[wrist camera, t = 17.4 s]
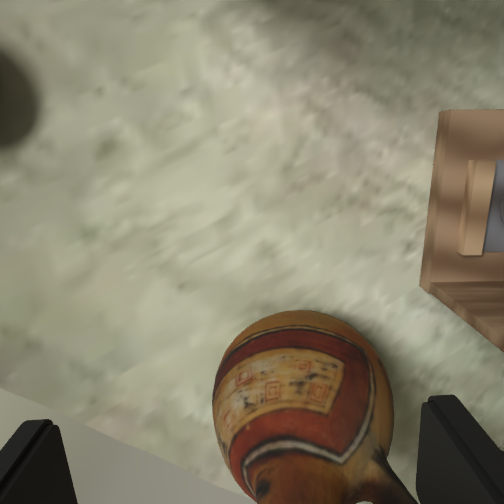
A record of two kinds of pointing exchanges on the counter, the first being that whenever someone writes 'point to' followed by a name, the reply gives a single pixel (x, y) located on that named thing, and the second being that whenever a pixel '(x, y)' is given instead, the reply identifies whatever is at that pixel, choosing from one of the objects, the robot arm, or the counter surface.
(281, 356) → the ceramic pitcher
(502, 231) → the display stand
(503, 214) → the plastic bottle
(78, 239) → the counter surface
